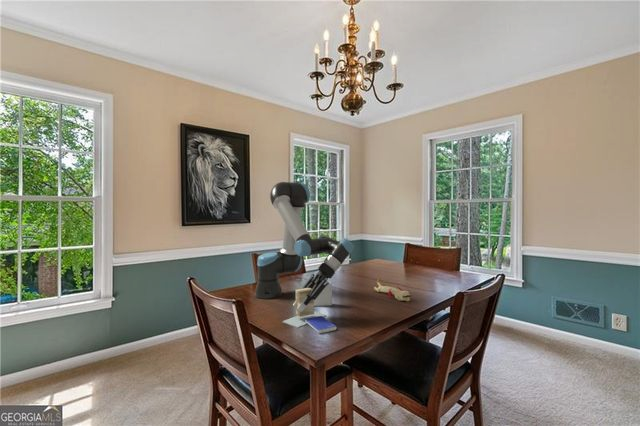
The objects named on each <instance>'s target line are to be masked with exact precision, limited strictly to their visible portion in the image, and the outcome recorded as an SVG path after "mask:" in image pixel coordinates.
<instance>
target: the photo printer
mask: <svg viewBox="0 0 640 426" xmlns="http://www.w3.org/2000/svg"><path fill="white" fill-rule="evenodd" d="M327 281H328V282H329V284H328V285H327V286H326V287H325V288H324V289H323V291H322V292H321V293H320V294H319V296H318V297H317V298H316V299H315V300H314V307H320V306H321V307H322V306H325V307H326V306H332V305H333V284H332V282H331V281H329V280H327Z"/></svg>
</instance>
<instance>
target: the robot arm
mask: <svg viewBox="0 0 640 426" xmlns="http://www.w3.org/2000/svg"><path fill="white" fill-rule="evenodd" d="M269 195H270V196H269V197H270V198H269V199H270V202H271V204H272V206H273V207H274V209H276V210H277V211H278V213H279V215H280V217H281V218H282V220H283V222H284V232H283V241H282V247H281V248H280V249H279V253H278V252H274V251H273V252H266V253H262V254H260V255H259V256H258V257H257V262H256V265H257V267H256V268H257V284H256V287H255V291H254V297H255V298H257V299H262V300H264V299H269V300H270V299H274V298H275V299H276V298H279V297H281V296H282V294H283V291H282V286H281V285H280V280H279V275H285V274H292V273H295V272H298V271H299V270H300V269H301V267H302V265H303V257H309V256H314V255H321V254H328V255H327V256H326V257H325V259H324V260H323V262H322V263H321V264H320V265H319V266H318V272H317V273H316V274H314V273H312V274H311V276H310V277H309V279H307V281H306V283H305V284H304V285H303V286H302V288H301V289H304V288H311V289H312V290H311V292H310V293H309V295H307V296H306V297H305V298H304V299H303V301H302V302H301V303H300V305H299V306H298V307H297V309H298V310H299V311H301V312H302V311H303V310H304V308H305V307H306V306H307V305H308V303H309V302H310V301H311V300H313V299H314V300H315V299H316V298H317V297H318V296H319V294H320V293H321V292H322V291H323V289H324V288H325V287H326V286H327V285H328V284H329V282H330V281H329V280H328V279H332V278H333V276H334V275H335V274H336V272H337V271H338V270H339V268H340V267H341V266H342V265H343V264H344V262H345V260H346V259H347V258H348V257H349V256H350V255H351V253H352V252H353V250H354V248H355V246H354V244H353V243H352V242H351V241H350V240H349V239H348V238H345V237H341V239H339V240H336V239H334V238H331V237H330V236H327V235H320V236H319V237H318V238H312V236H311V235H310V233H309V231H308V230H307V229H306V227H305V225H304V224H303V222H302V220H301V219H302V218H301V217H302V210H303V209H305V205H306V204H307V203H308V202H309V201H310V198H311V191H310V188H309V187H308V185H307V184H305V183H303V182H299V181H297V182H296V181H295V182H294V181H293V182H291V181H289V182H288V181H287V182H286V181H280V182H278V183H276V184H274V185H273V187H272V188H271V191H270V193H269ZM328 281H329V282H328ZM292 306H293V307H294V308H295V309H296V300H295V301H294V303H293V304H292Z"/></svg>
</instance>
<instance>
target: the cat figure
mask: <svg viewBox="0 0 640 426" xmlns="http://www.w3.org/2000/svg"><path fill="white" fill-rule="evenodd" d="M376 284H377V285H378V287H376V286H374V287H373V292H375V293H377V292H378V293H379V292H380V293H387V297H388V298H389V299H392V295H393V296H394V298H395V299H396V300H397V301H405V302H409V301H410V300H411V297H412V296H411V295H412V294H410V292H409V291H407V290H402V289H401V288H400V287H399V286H397V287H393V286H388V285H385V286H384V285H382V284H381V279H380V278H377V280H376Z"/></svg>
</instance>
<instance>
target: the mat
mask: <svg viewBox="0 0 640 426" xmlns="http://www.w3.org/2000/svg"><path fill="white" fill-rule="evenodd" d="M318 316H323V317H324V318H325V317H326V316H327V314H324V313H322V312H318V311H315V310H314V314H313V315H308V316H303V317H299V316H298V315H296V316H293V317H291V318H290V317H289V318H288V319H284V320H282V323H284V324H286V325H289V326H291V327H294V328H296V329H298V328H301V327H303V326H306V325H308V324H307V323H306V322H305V319H307V318H312V317H318Z"/></svg>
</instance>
